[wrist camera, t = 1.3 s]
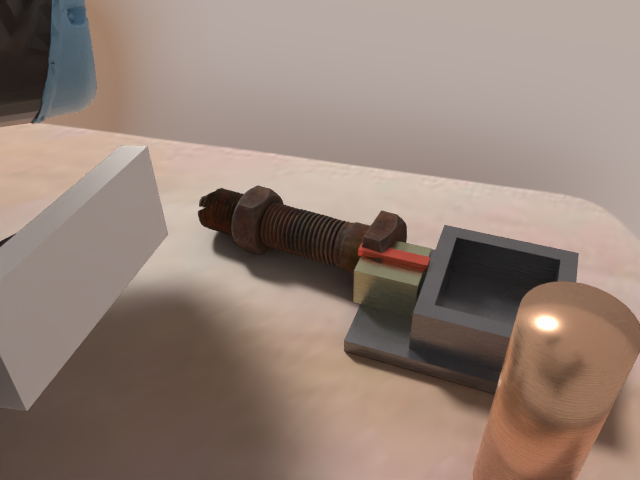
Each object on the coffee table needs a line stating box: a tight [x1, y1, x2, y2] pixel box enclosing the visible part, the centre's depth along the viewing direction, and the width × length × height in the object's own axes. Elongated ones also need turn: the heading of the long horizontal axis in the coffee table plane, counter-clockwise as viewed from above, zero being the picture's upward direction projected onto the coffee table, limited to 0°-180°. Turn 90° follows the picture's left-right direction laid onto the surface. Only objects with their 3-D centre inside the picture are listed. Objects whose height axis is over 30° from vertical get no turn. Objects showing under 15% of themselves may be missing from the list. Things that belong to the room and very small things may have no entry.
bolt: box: [198, 186, 407, 273], centre depth 42 cm, size 6×5×15 cm
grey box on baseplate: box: [344, 225, 579, 394], centre depth 37 cm, size 13×10×4 cm
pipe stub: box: [473, 281, 640, 480], centre depth 26 cm, size 4×4×12 cm
